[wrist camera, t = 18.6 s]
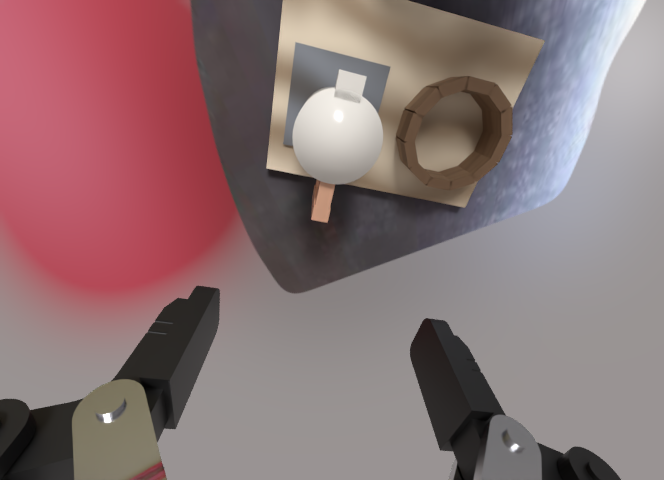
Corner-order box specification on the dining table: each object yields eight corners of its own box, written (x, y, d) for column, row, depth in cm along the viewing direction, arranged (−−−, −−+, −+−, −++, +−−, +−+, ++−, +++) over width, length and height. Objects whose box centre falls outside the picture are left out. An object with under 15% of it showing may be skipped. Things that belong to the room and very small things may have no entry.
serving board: (288, -31, 24) (280, -55, 20) (536, 42, 27) (575, 34, 23) (268, 165, 32) (260, 177, 28) (460, 203, 35) (479, 219, 31)
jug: (308, 66, 26) (303, 59, 17) (373, 84, 27) (400, 85, 18) (290, 178, 31) (280, 217, 22) (346, 190, 32) (356, 230, 23)
